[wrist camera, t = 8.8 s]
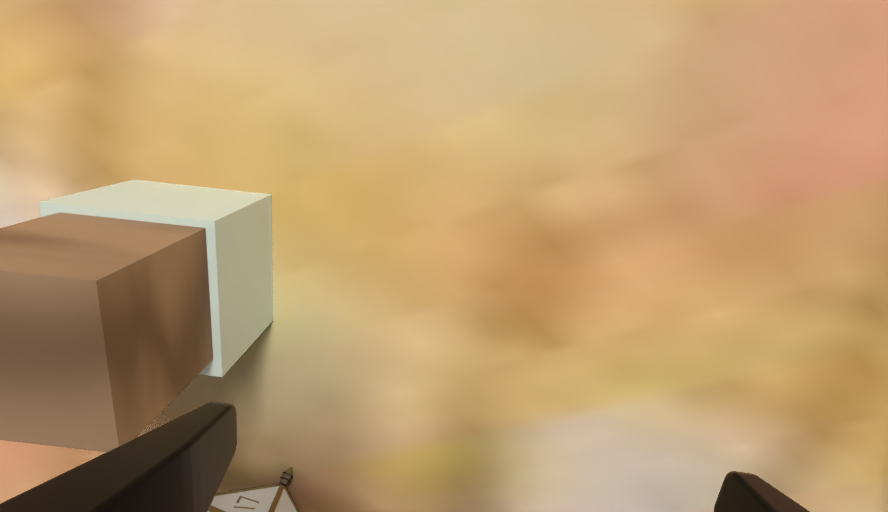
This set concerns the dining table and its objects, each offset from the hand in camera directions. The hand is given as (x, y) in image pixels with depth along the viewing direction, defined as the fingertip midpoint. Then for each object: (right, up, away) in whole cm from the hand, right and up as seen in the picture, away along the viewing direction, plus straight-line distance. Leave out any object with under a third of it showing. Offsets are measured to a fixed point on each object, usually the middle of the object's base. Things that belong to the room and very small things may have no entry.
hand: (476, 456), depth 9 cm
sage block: (-11, +4, +13) cm, 18 cm away
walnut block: (-11, +2, +8) cm, 14 cm away
